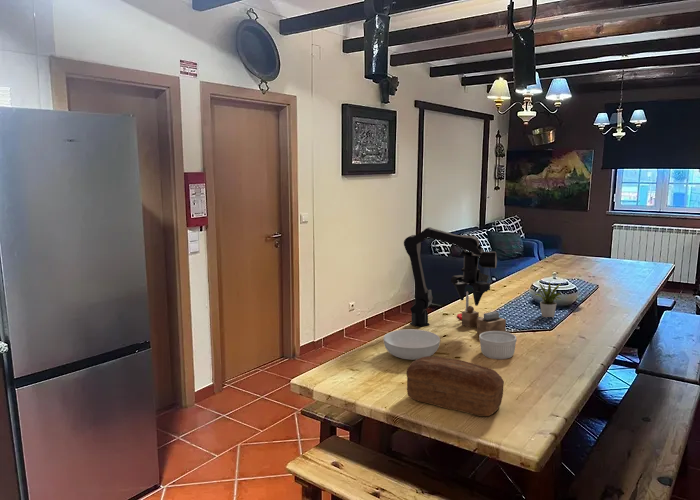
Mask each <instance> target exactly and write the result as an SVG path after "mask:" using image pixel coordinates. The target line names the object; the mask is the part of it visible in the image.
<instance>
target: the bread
mask: <svg viewBox="0 0 700 500" xmlns="http://www.w3.org/2000/svg"><path fill="white" fill-rule="evenodd" d="M406 378H407V379H406V387H407V388H406V389H407V390H406V391H407V393H406V394H407V396H408V397H409V398H410V399H412V400H413V401H417V402H419V403H427V404H430V405H435V406H439V407H441V408H445V409H449V410H453V411H460V412H464V413H467V414H471V415H474V416H480V417H489V416H492V415H493V414H494V413H495V412H497V410H498V409H499V408H500V406H501V404H502V402H503V395H504V386H505V385H504V379H503V377H502V376H501V375H500V374H499V373H498V372H497V371H496V370H494V369H493V368H491V367H490V368H489V367H485V366H482V365H479V364H476V363H472V362H469V361H465V360H461V359H456V358H455V359H454V358H446V357H441V356H426V357H422V358H419V359H416V360H413V361H412V362H410V364H409V366H408V367H407V368H406Z"/></svg>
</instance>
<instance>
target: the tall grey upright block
mask: <svg viewBox="0 0 700 500" xmlns="http://www.w3.org/2000/svg"><path fill="white" fill-rule="evenodd" d="M499 315H500V313H499V312H497V311H490V312H486V313H483V318H484V321H487V322H489V321H494V320H498V319H499V317H500V316H499Z"/></svg>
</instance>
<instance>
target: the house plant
mask: <svg viewBox="0 0 700 500" xmlns="http://www.w3.org/2000/svg"><path fill="white" fill-rule="evenodd" d="M531 284H532V285H535V286H537V284H535V283H531ZM547 285H548V287H547V291H546V288H545V285H544V284H542V282H540V281H539V288H538V290H539V292H540V293H541V294H540V293H535V294H534V296H538V297H540V298H541V299H542V301H540V302H539V304H540V305H539V306H540V312H541V316H542V317H543V318H547V317H552V318H554V317H555V313H556V308H557V302H556V301H557V300H560V301H561V297H558V296H561V295H562V293H558V292H557V291H558V289H559V288H560V289H561V288H563V287H559V286H561V285H562V283H561V284H558V285H556V286H555V287H554V288H553V289H552V285H551V281H549V282H548V284H547ZM556 292H557V293H556Z"/></svg>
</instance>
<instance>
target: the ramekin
mask: <svg viewBox="0 0 700 500" xmlns="http://www.w3.org/2000/svg"><path fill="white" fill-rule="evenodd" d="M478 336H479V337H478V339H479V344H480V345H479V346H480V350H481V354H483V356H484V357H485V358H489V359H494V360H506V359H510V358H512V357H513V356H514V355H515V350H516V343H517V341H518V340H517V336H516V335H515V334H514V333H511V332H509V331H508V332H507V331H506V332H503V331H488V332H483V333H481V334H479V335H478Z"/></svg>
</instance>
